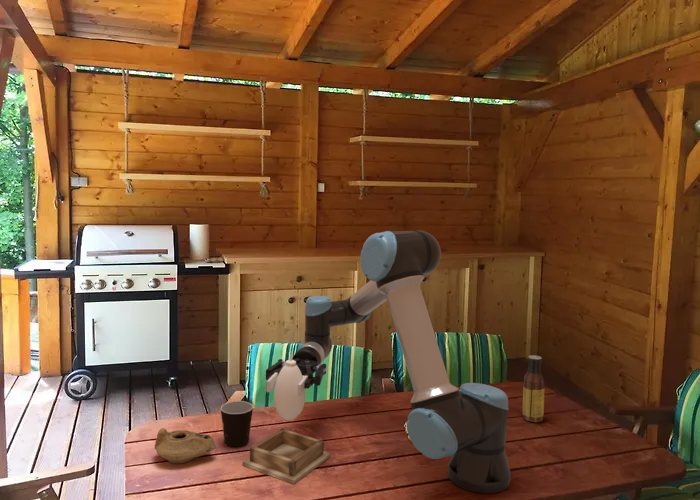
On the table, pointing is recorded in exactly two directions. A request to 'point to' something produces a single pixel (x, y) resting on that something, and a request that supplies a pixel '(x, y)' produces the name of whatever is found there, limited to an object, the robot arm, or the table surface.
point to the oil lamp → (182, 445)
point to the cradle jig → (287, 455)
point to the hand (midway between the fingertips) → (283, 388)
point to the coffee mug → (236, 423)
